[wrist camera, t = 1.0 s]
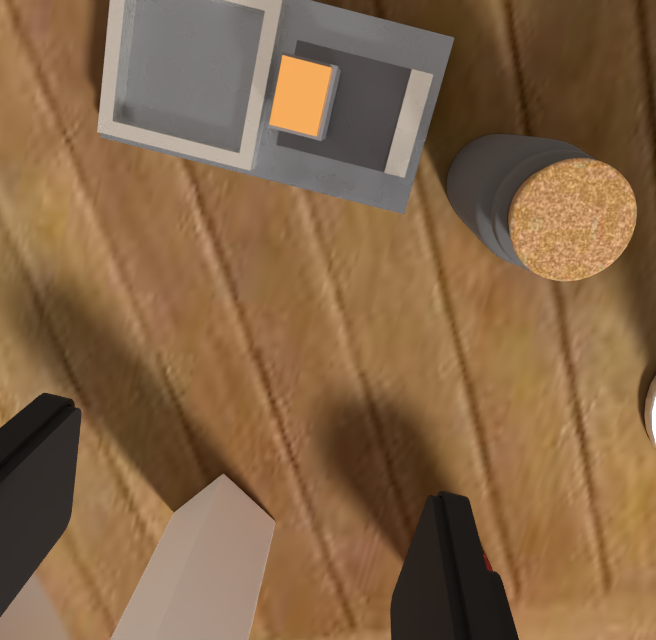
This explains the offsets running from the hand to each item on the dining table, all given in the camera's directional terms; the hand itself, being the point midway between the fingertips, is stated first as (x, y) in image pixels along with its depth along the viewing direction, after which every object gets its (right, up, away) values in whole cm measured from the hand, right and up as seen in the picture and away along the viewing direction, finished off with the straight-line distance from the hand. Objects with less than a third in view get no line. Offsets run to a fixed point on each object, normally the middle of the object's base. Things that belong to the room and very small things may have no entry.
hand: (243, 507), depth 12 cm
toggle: (+1, +16, +20) cm, 26 cm away
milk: (-7, -12, +34) cm, 37 cm away
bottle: (+12, +13, +24) cm, 30 cm away
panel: (-2, +18, +23) cm, 29 cm away
